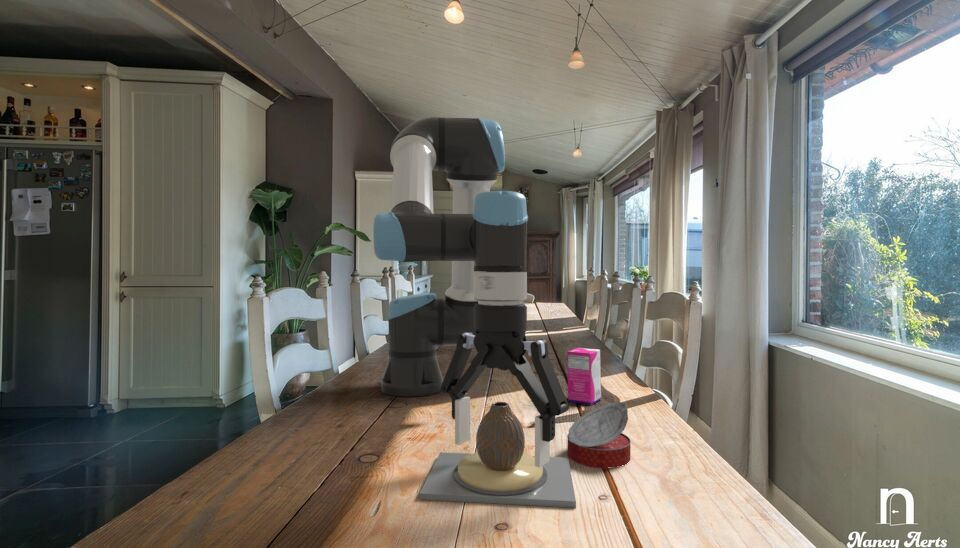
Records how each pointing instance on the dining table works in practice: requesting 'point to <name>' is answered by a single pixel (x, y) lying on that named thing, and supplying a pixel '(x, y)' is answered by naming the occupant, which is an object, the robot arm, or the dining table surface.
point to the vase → (500, 438)
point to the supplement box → (584, 375)
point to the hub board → (500, 481)
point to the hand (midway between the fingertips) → (500, 452)
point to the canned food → (600, 437)
